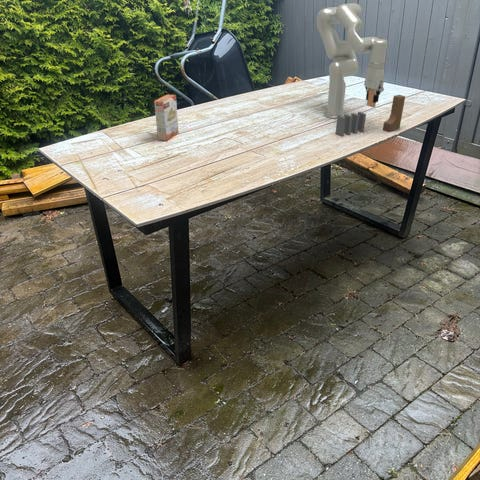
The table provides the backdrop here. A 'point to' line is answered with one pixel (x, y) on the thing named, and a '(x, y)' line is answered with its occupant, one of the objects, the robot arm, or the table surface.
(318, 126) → the table surface
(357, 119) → the domino
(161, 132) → the cracker box
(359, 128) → the domino
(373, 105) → the domino
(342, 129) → the domino
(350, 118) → the domino
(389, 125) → the wooden block
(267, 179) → the table surface
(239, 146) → the table surface
